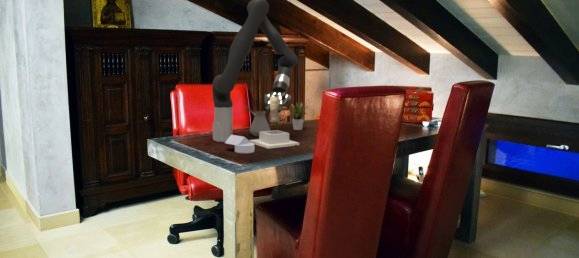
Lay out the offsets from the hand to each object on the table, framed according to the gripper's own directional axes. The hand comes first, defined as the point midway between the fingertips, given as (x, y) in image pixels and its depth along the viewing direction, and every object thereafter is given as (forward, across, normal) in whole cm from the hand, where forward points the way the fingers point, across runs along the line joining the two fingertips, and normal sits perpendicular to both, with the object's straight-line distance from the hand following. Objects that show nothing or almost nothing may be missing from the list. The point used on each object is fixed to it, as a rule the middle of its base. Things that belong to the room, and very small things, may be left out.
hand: (273, 111), depth 242 cm
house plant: (-23, -1, +47) cm, 52 cm away
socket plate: (+10, 0, +13) cm, 16 cm away
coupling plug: (+2, 0, +5) cm, 5 cm away
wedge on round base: (+26, -9, -2) cm, 27 cm away
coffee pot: (-6, -19, +30) cm, 36 cm away
